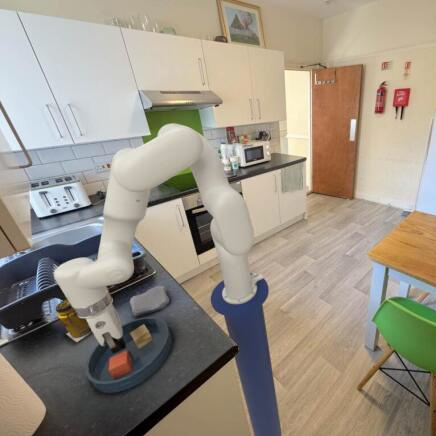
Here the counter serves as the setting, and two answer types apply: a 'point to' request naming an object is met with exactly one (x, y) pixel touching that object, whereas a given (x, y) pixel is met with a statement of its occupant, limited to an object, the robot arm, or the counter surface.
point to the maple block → (141, 336)
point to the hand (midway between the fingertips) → (119, 348)
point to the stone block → (149, 301)
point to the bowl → (141, 358)
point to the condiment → (72, 321)
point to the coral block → (120, 364)
